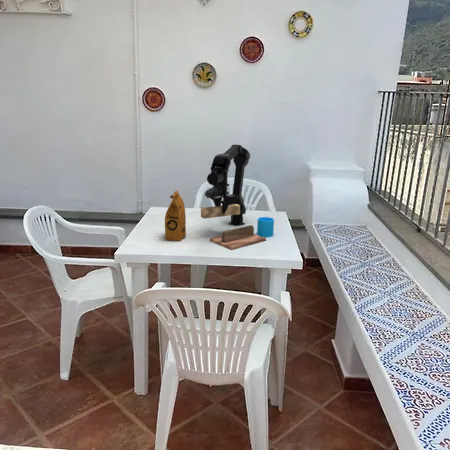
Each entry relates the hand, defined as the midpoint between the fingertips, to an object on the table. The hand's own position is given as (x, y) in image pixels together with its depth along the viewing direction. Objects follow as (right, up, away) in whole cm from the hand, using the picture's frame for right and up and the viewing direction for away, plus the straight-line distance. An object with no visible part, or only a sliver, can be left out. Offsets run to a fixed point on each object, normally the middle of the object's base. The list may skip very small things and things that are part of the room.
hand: (220, 212), depth 218 cm
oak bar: (0, -1, 0) cm, 1 cm away
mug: (+23, -11, +6) cm, 26 cm away
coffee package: (-22, -12, -4) cm, 25 cm away
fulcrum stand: (+8, -13, -6) cm, 17 cm away
